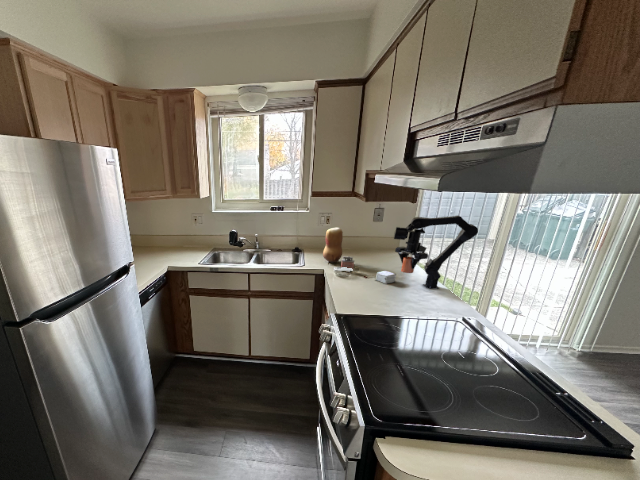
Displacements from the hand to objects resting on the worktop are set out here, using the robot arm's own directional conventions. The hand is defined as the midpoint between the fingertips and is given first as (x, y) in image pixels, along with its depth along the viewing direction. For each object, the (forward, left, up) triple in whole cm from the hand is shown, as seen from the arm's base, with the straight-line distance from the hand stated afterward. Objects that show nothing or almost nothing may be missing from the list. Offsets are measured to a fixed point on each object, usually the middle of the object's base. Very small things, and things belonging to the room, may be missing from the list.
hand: (408, 267), depth 183 cm
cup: (0, 0, -3) cm, 2 cm away
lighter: (+26, +27, -11) cm, 39 cm away
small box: (+6, +9, -11) cm, 15 cm away
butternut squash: (+48, +32, -11) cm, 59 cm away
